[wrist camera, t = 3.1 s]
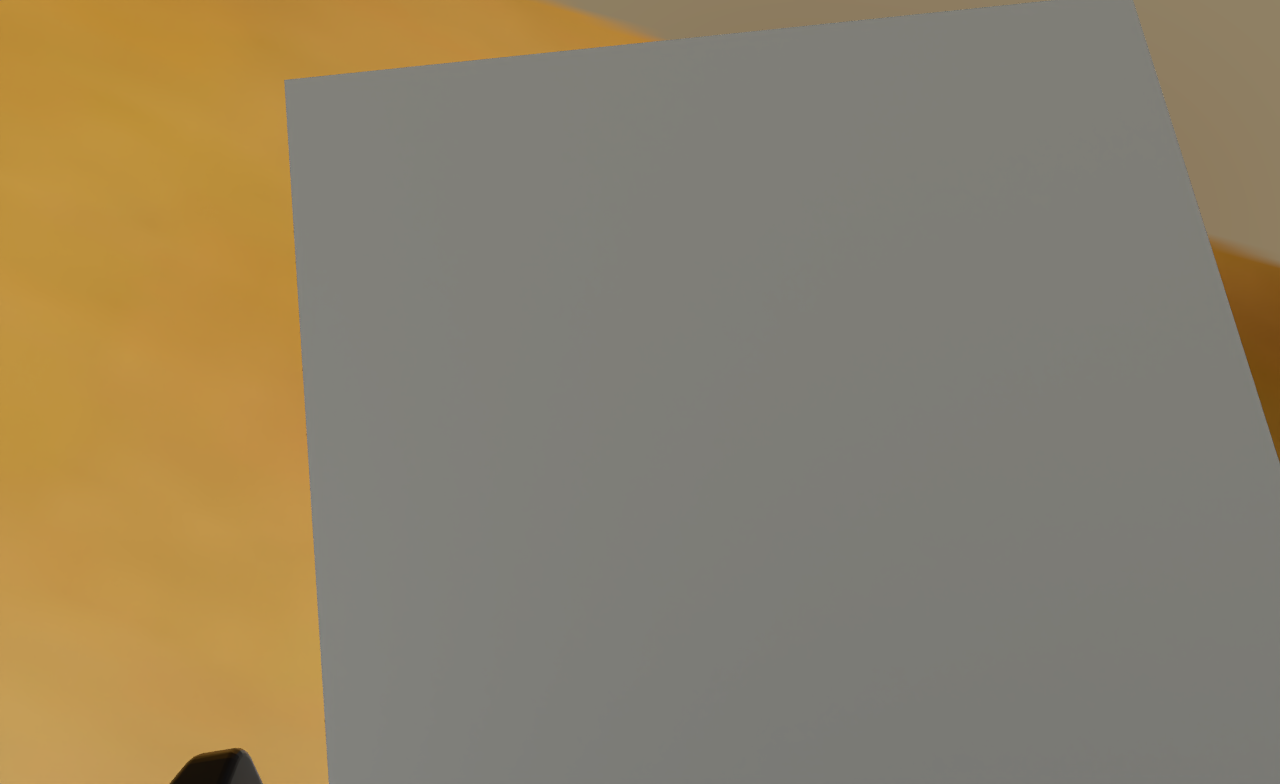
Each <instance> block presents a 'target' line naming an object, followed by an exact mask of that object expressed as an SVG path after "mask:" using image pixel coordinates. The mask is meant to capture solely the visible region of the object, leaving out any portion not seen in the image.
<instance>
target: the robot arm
mask: <svg viewBox="0 0 1280 784" xmlns="http://www.w3.org/2000/svg"><path fill="white" fill-rule="evenodd" d="M170 784H263V783H262V781H261V779H260V777H259V774H258V772H257V770H256V768H255V766H254V764H253V761H252V759H251V757H250V756H249V754H248V753H247V752H246V751H245V750H243V749H241V748H233V749H226V750H220V751H214V752H208V753H203V754H199V755H197V756H195V757H193V758H192V759H191V760H190V761H188V762H187V763H186V765H185V766H184V767H183V768H182V769H181V770H180V772H179V773H178V774H177V775H176V777H175V778H174V779H173V780H172V781H171V783H170Z"/></svg>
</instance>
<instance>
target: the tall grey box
mask: <svg viewBox="0 0 1280 784" xmlns="http://www.w3.org/2000/svg"><path fill="white" fill-rule="evenodd" d="M284 81H285V97H286V112H287V128H288V144H289V160H290V175H291V191H292V207H293V223H294V239H295V254H296V270H297V286H298V302H299V317H300V333H301V349H302V365H303V381H304V396H305V412H306V428H307V444H308V459H309V475H310V491H311V507H312V523H313V538H314V554H315V570H316V586H317V602H318V617H319V633H320V649H321V665H322V680H323V696H324V712H325V728H326V744H327V759H328V775H329V784H1280V463H1279V459H1278V456H1277V453H1276V450H1275V447H1274V444H1273V440H1272V437H1271V434H1270V431H1269V428H1268V425H1267V422H1266V418H1265V415H1264V412H1263V409H1262V406H1261V403H1260V399H1259V396H1258V393H1257V390H1256V387H1255V384H1254V381H1253V377H1252V374H1251V371H1250V368H1249V365H1248V362H1247V358H1246V355H1245V352H1244V349H1243V346H1242V343H1241V340H1240V336H1239V333H1238V330H1237V327H1236V324H1235V321H1234V317H1233V314H1232V311H1231V308H1230V305H1229V302H1228V299H1227V295H1226V292H1225V289H1224V286H1223V283H1222V280H1221V276H1220V273H1219V270H1218V267H1217V264H1216V261H1215V258H1214V254H1213V251H1212V248H1211V245H1210V242H1209V239H1208V235H1207V232H1206V229H1205V226H1204V223H1203V220H1202V217H1201V213H1200V210H1199V207H1198V204H1197V201H1196V198H1195V194H1194V192H1193V188H1192V185H1191V182H1190V179H1189V176H1188V172H1187V169H1186V166H1185V163H1184V160H1183V157H1182V154H1181V151H1180V147H1179V144H1178V141H1177V138H1176V135H1175V131H1174V128H1173V125H1172V122H1171V119H1170V116H1169V112H1168V109H1167V106H1166V103H1165V100H1164V97H1163V93H1162V90H1161V87H1160V84H1159V81H1158V78H1157V75H1156V72H1155V68H1154V65H1153V62H1152V59H1151V56H1150V52H1149V49H1148V46H1147V43H1146V40H1145V37H1144V34H1143V31H1142V27H1141V24H1140V21H1139V18H1138V15H1137V12H1136V8H1135V5H1134V2H1133V0H1051V1H1042V2H1032V3H1022V4H1013V5H1003V6H993V7H984V8H974V9H965V10H955V11H945V12H936V13H926V14H916V15H907V16H897V17H887V18H878V19H869V20H858V21H849V22H839V23H830V24H820V25H811V26H802V27H792V28H781V29H772V30H763V31H753V32H744V33H733V34H724V35H714V36H704V37H695V38H685V39H676V40H666V41H656V42H647V43H637V44H627V45H618V46H608V47H598V48H589V49H579V50H569V51H560V52H550V53H541V54H531V55H521V56H512V57H502V58H492V59H483V60H473V61H464V62H454V63H444V64H435V65H425V66H415V67H406V68H396V69H386V70H377V71H367V72H358V73H348V74H338V75H329V76H319V77H309V78H300V79H290V80H284Z"/></svg>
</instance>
